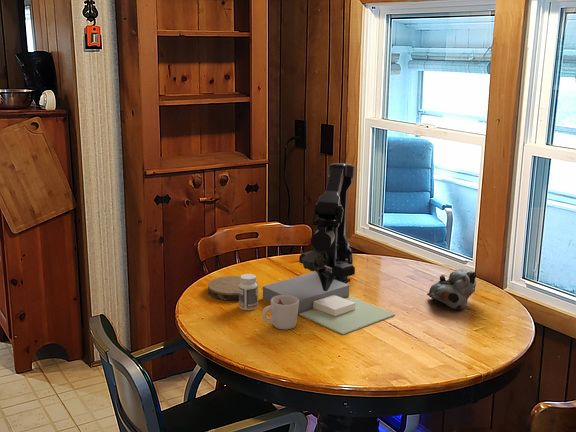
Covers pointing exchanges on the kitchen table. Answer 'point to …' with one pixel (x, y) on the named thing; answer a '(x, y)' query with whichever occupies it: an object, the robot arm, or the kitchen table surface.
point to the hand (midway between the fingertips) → (325, 290)
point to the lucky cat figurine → (454, 289)
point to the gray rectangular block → (305, 290)
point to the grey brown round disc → (225, 288)
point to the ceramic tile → (334, 305)
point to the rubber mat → (349, 317)
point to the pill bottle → (248, 292)
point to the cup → (282, 311)
